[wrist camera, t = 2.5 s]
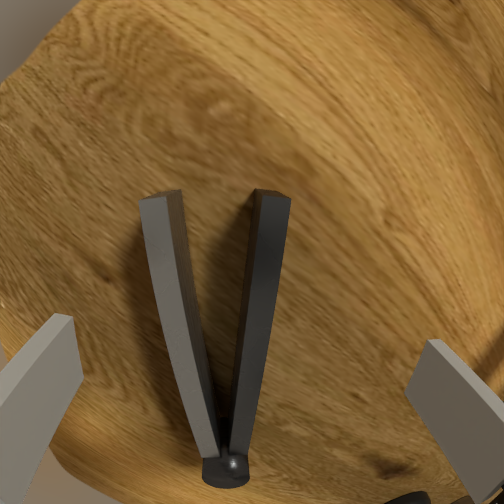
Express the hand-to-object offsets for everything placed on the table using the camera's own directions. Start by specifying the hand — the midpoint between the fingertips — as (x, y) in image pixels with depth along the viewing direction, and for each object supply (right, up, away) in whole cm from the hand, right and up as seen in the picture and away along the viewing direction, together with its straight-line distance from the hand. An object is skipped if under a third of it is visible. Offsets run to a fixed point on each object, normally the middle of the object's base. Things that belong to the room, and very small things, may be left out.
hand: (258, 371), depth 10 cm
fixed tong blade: (-2, -3, +14) cm, 14 cm away
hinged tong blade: (-5, -1, +13) cm, 14 cm away
